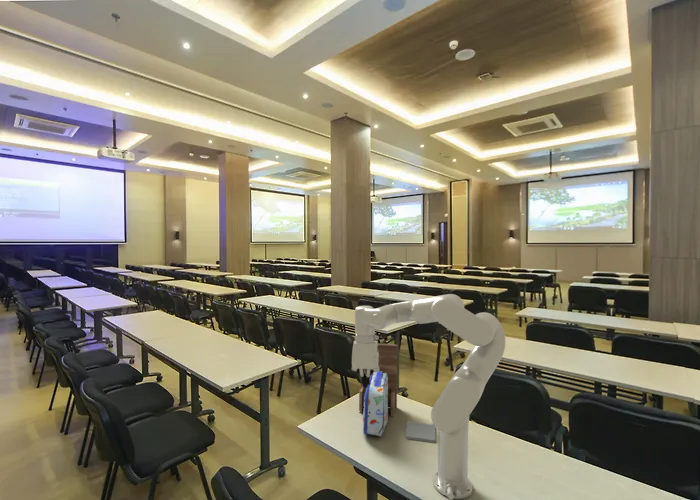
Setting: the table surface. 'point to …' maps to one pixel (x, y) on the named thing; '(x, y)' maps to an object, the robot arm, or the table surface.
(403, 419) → the table surface
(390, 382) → the display stand
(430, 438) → the notebook
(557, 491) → the table surface
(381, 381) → the lunch box
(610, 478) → the table surface
